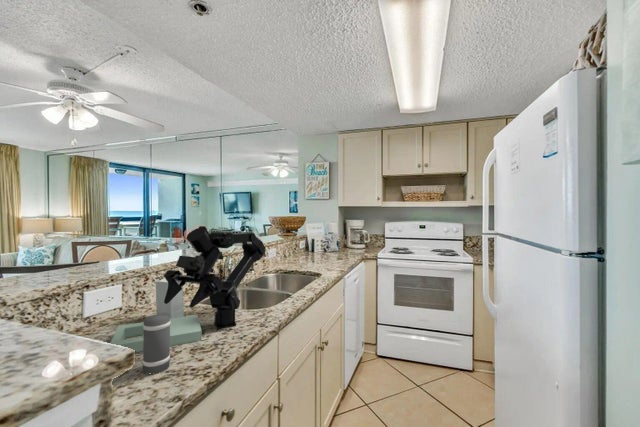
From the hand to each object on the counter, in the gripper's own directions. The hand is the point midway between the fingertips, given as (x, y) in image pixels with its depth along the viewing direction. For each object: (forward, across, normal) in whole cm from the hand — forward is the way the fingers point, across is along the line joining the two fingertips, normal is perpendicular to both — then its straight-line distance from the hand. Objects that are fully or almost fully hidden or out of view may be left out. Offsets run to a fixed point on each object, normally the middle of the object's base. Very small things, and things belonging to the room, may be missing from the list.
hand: (177, 305), depth 82 cm
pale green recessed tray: (+5, -13, +14) cm, 20 cm away
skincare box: (-5, -24, +24) cm, 34 cm away
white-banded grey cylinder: (+15, +1, +5) cm, 16 cm away
